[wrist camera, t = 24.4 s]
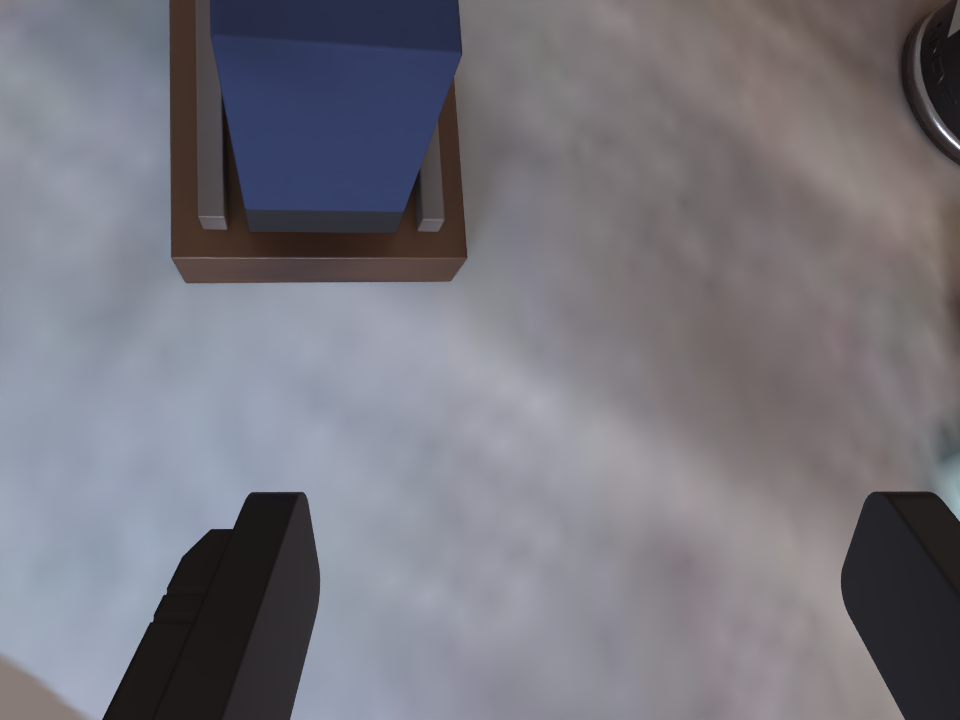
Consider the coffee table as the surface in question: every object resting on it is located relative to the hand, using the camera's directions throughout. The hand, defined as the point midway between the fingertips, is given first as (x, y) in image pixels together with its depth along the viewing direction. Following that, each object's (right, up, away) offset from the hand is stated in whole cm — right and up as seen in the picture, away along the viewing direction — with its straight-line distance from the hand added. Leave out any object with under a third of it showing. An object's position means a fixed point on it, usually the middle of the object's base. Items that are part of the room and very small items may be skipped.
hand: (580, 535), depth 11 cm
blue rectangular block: (-7, +12, +15) cm, 21 cm away
